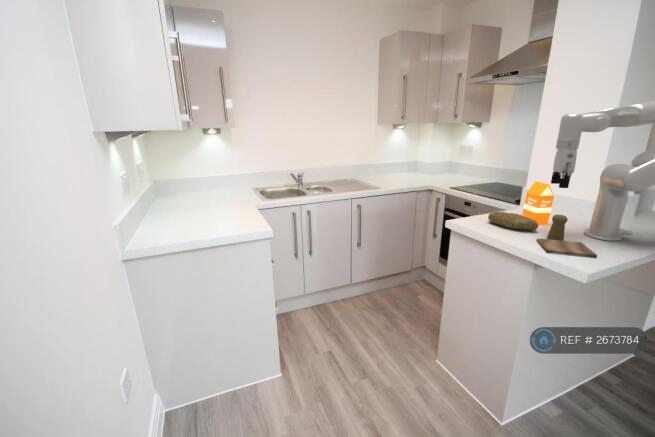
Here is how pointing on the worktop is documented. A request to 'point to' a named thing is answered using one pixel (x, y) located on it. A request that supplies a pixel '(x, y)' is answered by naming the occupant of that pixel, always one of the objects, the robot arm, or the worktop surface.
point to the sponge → (513, 221)
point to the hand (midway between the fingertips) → (559, 185)
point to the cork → (557, 228)
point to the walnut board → (566, 248)
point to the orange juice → (538, 202)
